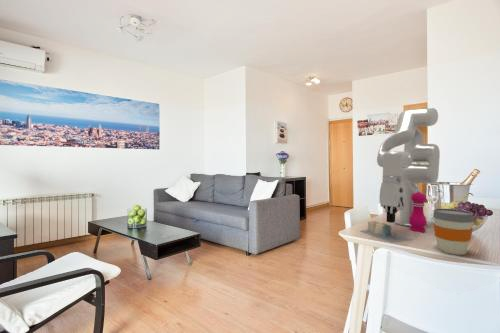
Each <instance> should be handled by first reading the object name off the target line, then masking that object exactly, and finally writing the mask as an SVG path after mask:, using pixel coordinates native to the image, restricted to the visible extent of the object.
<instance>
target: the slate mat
mask: <svg viewBox="0 0 500 333" xmlns="http://www.w3.org/2000/svg"><path fill="white" fill-rule="evenodd" d="M359 232H361V233H363V234H366V235H369V236H372V237H375V238H378V239H380V240H384V241H386V242H389V243H392V244H393V243H400V242H401V243H402V242H407V241H414V239H412V238H409V237H406V236H403V235H400V234H397V233H393V232H391V235H390V236H381V235H378V234H375V233H372V232H369V231H368V229H366V230H365V229H363V230H359Z"/></svg>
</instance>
